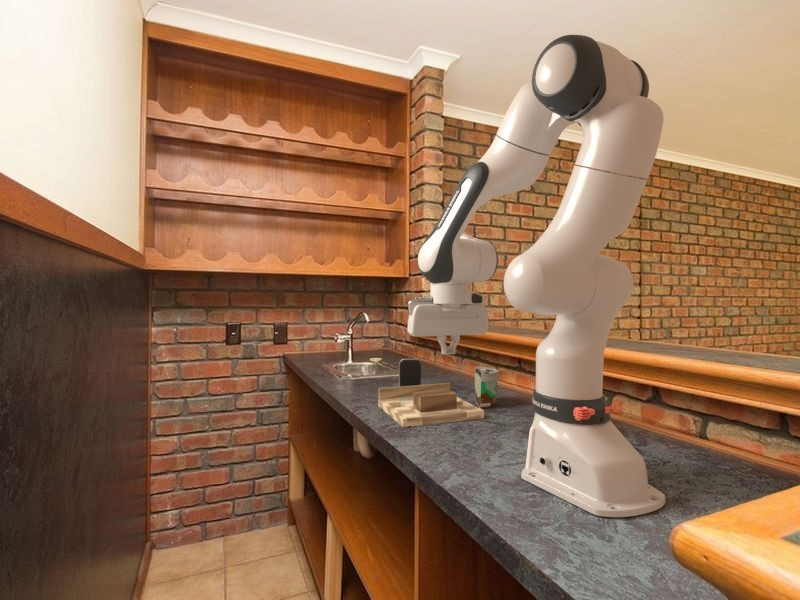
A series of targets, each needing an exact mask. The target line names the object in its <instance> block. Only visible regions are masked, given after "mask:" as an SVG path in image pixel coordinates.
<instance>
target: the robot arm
mask: <svg viewBox="0 0 800 600" xmlns="http://www.w3.org/2000/svg"><path fill="white" fill-rule="evenodd" d="M649 93H650V82H649V77H648V75H647V74H646V72H645V70H644V69H643V67H642V66H641V65H640V64H639V63H638V62H637V61H634V60H632V59H629V57H627V56H626V55H625V54H623V53H622V52H620V50H619V49H617V48H616V47H614V46H611V45H609V44H606V43H604V42H600V41H597V40H595V39H593V38H592V37H590V36H589V35H588V36H587V35H583V34H566V35H562V36H560V37H558V38H556V39H553V40H552V41H551V42H550V43H549V44H547V46H546V47H544V49H543V50H542V52H541V53H540V54H539V56H538V58H537V60H536V62H535V64H534V67H533V70H532V75H531V80H530V81H528V82H526V83H524V84H523V85H522V86H521V87H520V89H519V90H518V91H517V93H516V94H515V96H514V98H513V99H512V101H511V103H510V104H509V105H508V108H507V110H506V112H505V114H504V115H503V118H502V120H501V122H500V125H499V126H498V129H497V131H496V134H495V137H494V138H493V141H492V143H491V144H490V146H489V148H488V149H487V150H486V152H485V154H483V155H482V157H481V158H480V159H479V160H478V161H476V162H475V163H473V164H472V165H470V166H469V167H468V168H467V170H466V171H465V172H463V175H462V177H461V178H460V180H459V182H458V183H457V185H456V187H455V189H454V191H453V193H452V195H450V198H449V199H448V202H447V204H446V205H445V207H444V209H443V211H442V213H441V215H440V216H439V219H437V221H436V224H435V225H434V227H433V229H432V230H431V232H430V233H429V234H428V236H427V237H426V239H425V240H424V241H423V243H422V244H421V246H420V247H419V249H418V252H417V257H416V261H417V268H418V271H419V272H420V274H422V276H423V278H425V280H426V281H428V282H429V283H430V287H429V289H430V294H429V295H430V296H421V297H420V296H415V297H413V298H411V299H410V300H409V302H408V303H407V304H408V306H407V307H408V309H407V310H408V311H407V312H408V320H407V333H408V335H410V336H412V337H414V338H415V337H416V338H417V337H418V338H419V337H436V340H437V342H438V343H439V345H440V347H441V351H440V352H441V355H456V348H457V347H458V346H457V345H458V344H459V342H460V340H461V339H460V338H461V336H469V335H470V336H471V335H473V336H474V335H486V333H487V332H488V331H489V315H488V309H487V307H486V306H485V304H486V302H487V297H486V296H485V295H484V294H481V293H478V292H476V291H472V290H471V289H468V283H482V282H487V281H489V280H490V279H492V278H493V276H494V275H495V274H496V272H497V269H498V265H499V254H498V252H497V249H496V247H495V245H494V244H493V243H492V242H490V241H487V240H484V239H480V238H476V237H474V236H472V235H469V234H468V233H467V232H466V228H467V227H468V225H469V224H470V222H471V220H472V219H473V217H474V215H475V213H476V212H477V210H478V209H479V208H480V207H481V206H483V205H484V204H485V203H487V202H489V201H491V200H494V199H496V198H498V197H501V196H505V195H508V194H514V193H517V192H520V191H521V192H522V191H523V190H525V189H527V188H529V187H531V186H532V185H533V184H534V183H535V182H536V181H537V180H538V179H539V177H540V176H541V174H543V171H544V170H545V168H546V166H547V164H548V163H549V159H550V158H551V155H552V153H553V151H554V149H555V147H556V144H557V142H558V140H559V138H560V137H561V135H562V133H563V132H564V130H566V128H567V127H570V126H572V125H573V124H578V125H579V127H581V130H582V141H581V144H580V148H579V151H578V154H577V156H576V157H577V158H576V159H575V162H574V165H573V169H572V171H571V174H570V177H569V180H568V183H567V186H566V189H565V191H564V194H563V197H562V200H561V203H560V205H559V207H558V209H557V212H556V214H555V216H554V217H553V219H552V221H551V222H550V223H549V224H548V226H547V228H546V229H545V230H544V231H543V233H542V234H541V235H540V237H539V238H538V239H537V240H536V242H535V243H534V244H532V246H530V247H529V248H528V249H526V251H525V250H524V252H522V253H521V254H519V255H518V256H516V257H514V258H513V259H512V260H511V261H510V263H509V264H508V266H507V268H506V270H505V273H504V277H503V290H504V295H505V297H506V298H507V301H508V302H509V304H510V305H511V306H512V307H513V308H514V309H516V310H517V311H521V312H525V313H528V314H532V315H538V316H556V317H555V321H554V324H553V327H552V329H551V330H550V332H549V334H548V335H547V336H546V337H545V338H544V339H543V340H541V341H540V342H539V344H538V346H537V347H536V350H535V389H534V390H533V391H532V401H531V402H532V410H533V411H534V416H533V421H532V424H531V426H530V429H529V434H528V442H527V444H528V445H527V451H526V458H525V459H526V460H525V467H524V468H523V469H522V470H521V474H520V477H521V479H522V480H524V481H526V482H528V483H530V484H532V485H534V486H535V487H538V488H540V489H542V490H544V491H546V492H548V493H550V494H552V495H554V496H556V497H558V498H560V499H562V500H564V501H566V502H568V503H570V504H573V505H575V506H577V507H578V508H580V509H582V510H584V511H586V512H588V513H590V514H593V515H595V516H597V517H603V518H604V517H605V518H606V517H607V518H628V517H635V516H639V515H640V516H641V515H645V514H648V513H652V512H655V511H657V510H660V509H661V508H662V507H663V506H665V504H666V495H665V494H664V493H663V492H661V490H659V489H657V488H655V487H654V486H652V485H650V484H649V481H648V471H647V466H646V462H645V460H644V458H643V456H642V454H640V453H639V451H637V450H636V449H635V447H634V446H633V445H632V444H631V443H630V442H629V440H628V439H626V437H625V436H624V435H623V434H622V433H621V431H620V430H619V429H618V428H617V426H616V425H615V424H614V423H613V422H612V421H611V420H612V416H611V414H614V413H617V410H614V409H616V408H617V406H616V405H609V404H608V402H607V399H606V397H605V395H604V394H603V389H604V388H603V384H604V360H605V351H606V346H607V341H608V338H609V336H610V335H609V334H610V331H611V329H612V326H613V323H614V321H615V319H616V316H617V315H618V313H619V311H620V310H621V309H622V308H623V306H625V304H627V303H628V302H629V300H630V299H631V296H632V294H633V291H634V277H633V274H632V272H631V270H630V268H629V267H628V265H626V264H624V262H622V261H619V260H617V259H614V258H612V257H609V256H606V255H604V254H600V253H601V252H602V251H603V250H604V248H605V247H606V246H607V245H608V244H609V243H610V242H611V241H612V240H614V239H615V238H616V237H618V236H620V235H622V234H623V233H624V232H625V231H626V230H627V229H628V227H629V226H630V224H631V221H632V219H633V217H634V215H635V212H636V211H637V210H636V209H637V207H638V205H639V202H640V200H641V197H642V195H643V192H644V189H645V187H646V184H647V182H648V179H649V176H650V174H651V171H652V169H653V166H654V163H655V159H656V155H657V152H658V149H659V145H660V142H661V135H662V132H663V131H662V130H663V126H664V119H665V118H664V112H663V110H662V107H660V105H659V104H657V102H655V101H654V100H652V99H650V98H648V97H649ZM447 336H450V340H451V342H450V344H449V346H448V345H447V344H446V342H445V341H446V340H447Z"/></svg>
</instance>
